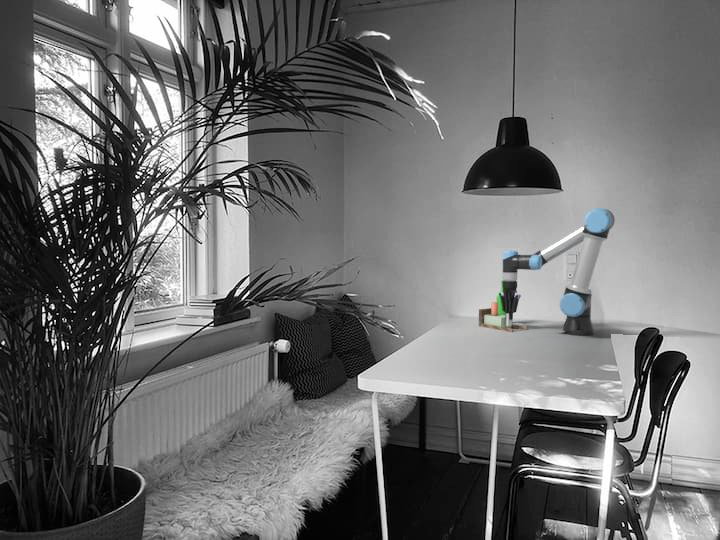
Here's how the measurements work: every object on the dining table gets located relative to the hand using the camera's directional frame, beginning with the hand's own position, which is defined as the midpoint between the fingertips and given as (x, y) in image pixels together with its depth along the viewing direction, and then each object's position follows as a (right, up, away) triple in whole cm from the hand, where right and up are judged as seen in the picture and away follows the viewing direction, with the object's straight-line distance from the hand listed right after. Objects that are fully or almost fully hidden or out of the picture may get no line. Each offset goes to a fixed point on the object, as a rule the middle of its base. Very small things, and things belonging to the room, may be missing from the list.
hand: (509, 325), depth 331 cm
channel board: (-2, -3, +4) cm, 5 cm away
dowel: (-6, 0, +9) cm, 10 cm away
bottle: (+3, -2, +23) cm, 23 cm away
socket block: (-4, -1, +7) cm, 8 cm away
